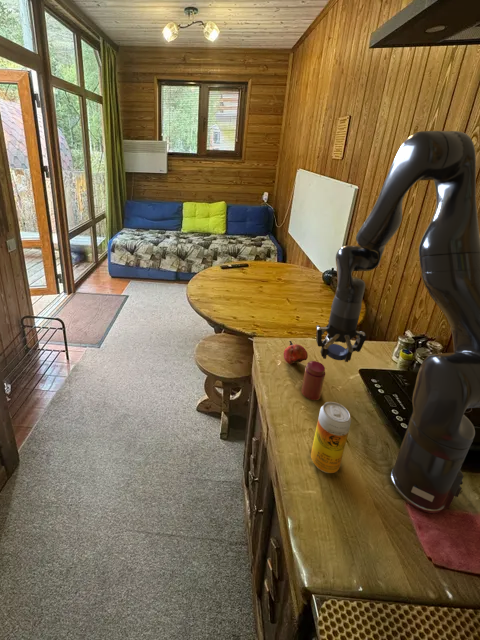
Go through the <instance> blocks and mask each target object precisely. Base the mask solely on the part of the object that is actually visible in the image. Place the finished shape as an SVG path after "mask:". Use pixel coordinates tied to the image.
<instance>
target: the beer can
mask: <svg viewBox="0 0 480 640" xmlns="http://www.w3.org/2000/svg"><path fill="white" fill-rule="evenodd" d="M351 424H352V418H351V413H350V411H349V410H348V409H347V408H346V407H345V406H344V405H342V404H341V403H339V402H336V401H327V402H325V403H324V404H323V405H322V406H321V407H320V409H319V414H318V418H317V423H316V428H315V433H314V437H313V442H312V447H311V451H310V459H311V461H312V462H313V464H314V466H315V467H316V468H317V469H318V470H320V471H322V473H325V474H333V473H337V472H338V471H339V470H340V467H341V463H342V459H343V455H344V451H345V447H346V443H347V440H348V436H349V431H350V429H351Z"/></svg>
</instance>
